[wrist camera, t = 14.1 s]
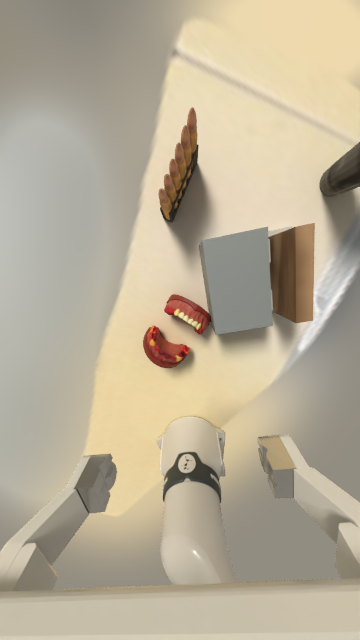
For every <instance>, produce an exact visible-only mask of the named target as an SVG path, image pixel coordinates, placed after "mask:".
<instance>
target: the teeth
mask: <svg viewBox="0 0 360 640" xmlns="http://www.w3.org/2000/svg"><path fill="white" fill-rule="evenodd" d="M164 311H165V312H166V313H167V314H168V315H175V316H178V315H179V317H180V318H181V319H183V320H184V321H186V322H187V321H188V322H187V323H189V324H192V326H194V327H196V328H195V332H197V333H198V334H202V333H203V331H204V330H205V329H206V327H207V326H208V325H209V323H210V322H211V316H210V315H209V313H207V312H206V311H205V310H204V309H203V308H201V307H200V306H199V305H197V304H195V303H194V302H192V301H190V300H188V299H186V298H184V297H182V296H179V295H175V294H174V295H171V296H170V298H169V300H168V301H167V305H166V308H165V309H164ZM184 316H185V317H184ZM188 319H189V320H188ZM143 347H144V350H145V353H146V355H147V357H148V358H149V359H150V360H151V361H152V362H153V363H154V364H156V365H158V366H160V367H163V368H172V367H175V366H177V365H178V364H179V363H180V362H181V361H182V360H183V359H184V358H185V357H186V355H187V354H188V353H189V351H190V348H189V347H187V346H186V345H183V344H180V345H177V344H172V343H170V342H168V341H166V340H165V339H164V338H163V337H162V336H161V334H160V330H159V328H157V327H155V326H153V327H150V328H149V329H148V330H147V332H146V334H145V336H144V340H143Z"/></svg>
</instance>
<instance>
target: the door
mask: <svg viewBox="0 0 360 640" xmlns="http://www.w3.org/2000/svg"><path fill="white" fill-rule="evenodd" d="M314 230H315V223H312V224H307V225H303V226H298V227H294V228H291V229H289V230H286V231H283V232H280V233H278V234H275V235H272V236H269V237H268V239H270V258H271V262H270V282H271V290H272V302H273V310H272V311H274V312H276V313H278V314H280V315H281V316H283V317H285V318H287V319H289V320H291V321H293V322H295V323H300V322H306V321H313V285H314Z"/></svg>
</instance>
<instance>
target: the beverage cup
mask: <svg viewBox="0 0 360 640" xmlns="http://www.w3.org/2000/svg"><path fill="white" fill-rule="evenodd" d="M357 187H360V142H359V143H358V144H357V145H356V146H354V147H353V148H352V149H351V150H350V151H348V152H347V153H346V154H345V155H344V156H342V157H341V158H340V159H339V160H338V161H337V162H335V163H334V164H333V165H332V166H331V167H330V168H329V169H328V170H327V171H326V172H325V173H324V174H323V176H322V177H321V180H320V189H321V192H322V193H323V194H324V195H326V196H334V195H336V194H340V193H343V192H346V191H349V190H352V189H355V188H357Z"/></svg>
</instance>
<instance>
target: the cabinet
mask: <svg viewBox="0 0 360 640" xmlns="http://www.w3.org/2000/svg"><path fill="white" fill-rule="evenodd" d="M291 228H292V227H287V228H282V229H277V230H273V231H268V227H264V228H260V229H255V230H250V231H245V232H241V233H236V234H231V235H226V236H222V237H217V238H212V239H207V240H202V242H201V243H200V245H199V250H200V257H201V264H202V270H203V277H204V284H205V290H206V297H207V304H208V310H209V315H210V316H211V325H212V327H213V330H214V332H215V334H216V335H218V334H224V333H230V332H237V331H243V330H249V329H255V328H261V327H267V326H273V323H272V312H274V311H272V310H273V302H272V290H271V282H270V262H271V258H270V239H268V237H269V236H272V235H275V234H278V233H280V232H283V231H286V230H289V229H291Z"/></svg>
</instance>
